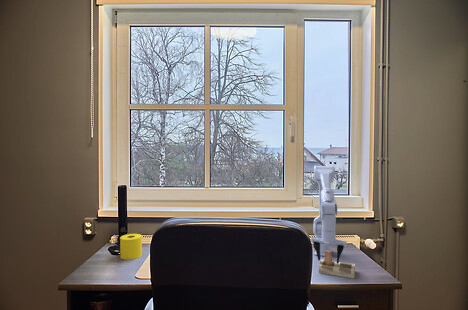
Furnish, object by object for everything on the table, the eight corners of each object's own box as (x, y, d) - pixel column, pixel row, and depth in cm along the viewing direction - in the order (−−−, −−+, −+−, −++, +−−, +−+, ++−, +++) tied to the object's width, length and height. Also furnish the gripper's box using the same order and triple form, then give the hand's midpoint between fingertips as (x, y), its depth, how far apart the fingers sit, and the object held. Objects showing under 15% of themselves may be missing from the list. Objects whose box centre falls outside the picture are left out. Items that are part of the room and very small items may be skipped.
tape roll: (125, 252, 152) (125, 233, 152) (144, 252, 151) (144, 233, 151) (116, 259, 142) (116, 239, 142) (137, 259, 141) (137, 239, 141)
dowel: (325, 265, 131) (325, 250, 131) (332, 267, 130) (332, 251, 130) (323, 268, 128) (324, 252, 128) (331, 269, 127) (331, 253, 127)
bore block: (321, 265, 134) (321, 259, 134) (354, 270, 129) (354, 264, 129) (318, 272, 127) (318, 265, 127) (354, 278, 121) (354, 271, 121)
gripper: (309, 230, 128) (309, 261, 128) (346, 234, 122) (345, 267, 123) (312, 226, 134) (312, 256, 135) (347, 229, 129) (346, 261, 129)
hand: (328, 261), depth 129 cm, fingers open, 7 cm apart
